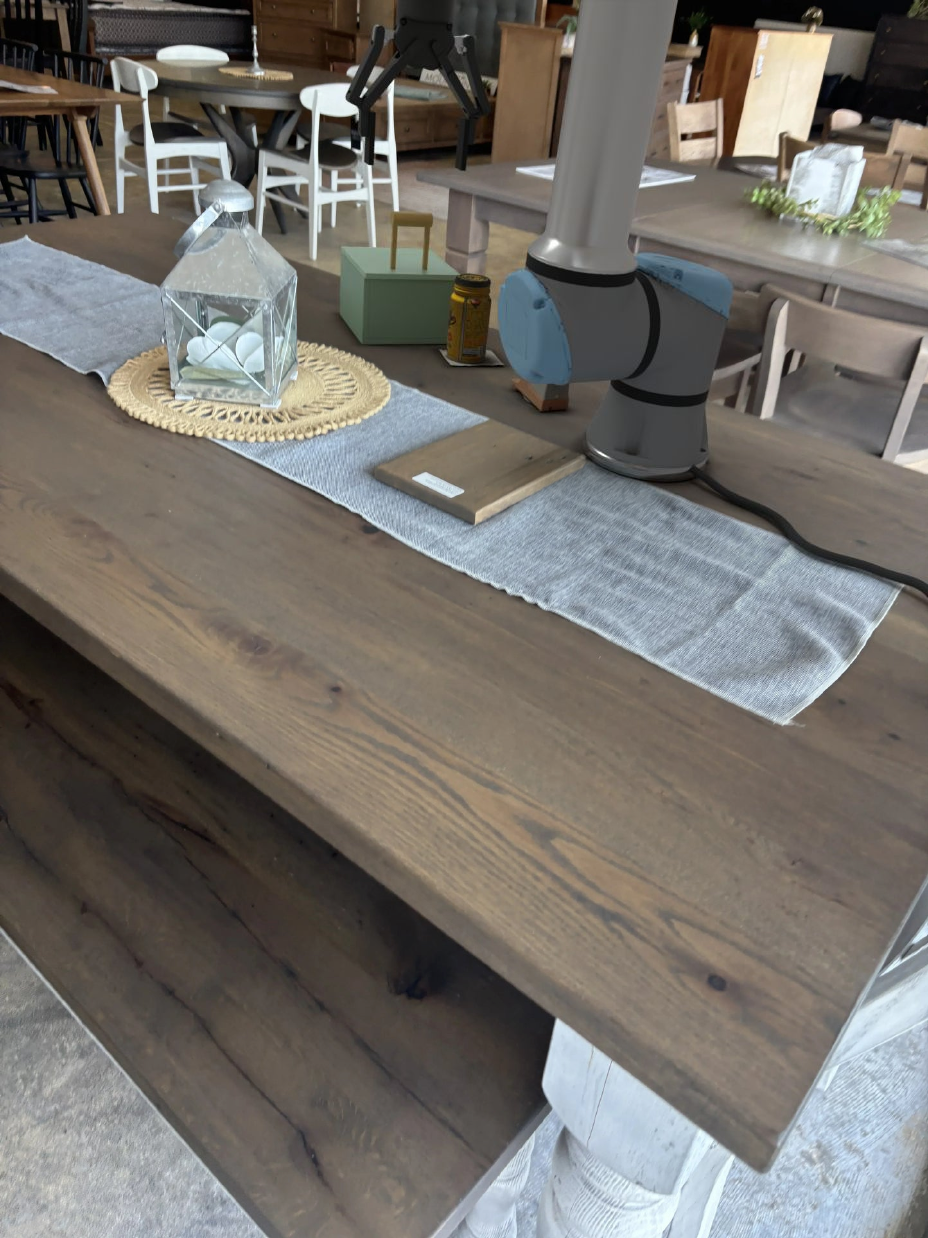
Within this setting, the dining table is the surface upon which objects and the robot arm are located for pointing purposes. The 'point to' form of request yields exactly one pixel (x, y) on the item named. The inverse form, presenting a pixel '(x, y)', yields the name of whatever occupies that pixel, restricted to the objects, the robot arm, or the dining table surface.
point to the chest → (394, 308)
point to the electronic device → (543, 394)
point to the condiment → (469, 322)
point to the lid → (401, 254)
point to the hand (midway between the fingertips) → (415, 166)
